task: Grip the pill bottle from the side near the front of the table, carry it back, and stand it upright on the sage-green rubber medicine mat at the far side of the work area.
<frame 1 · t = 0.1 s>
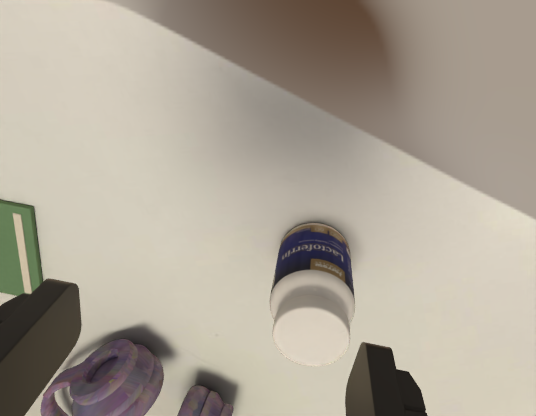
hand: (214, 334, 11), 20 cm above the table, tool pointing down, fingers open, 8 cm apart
headphones: (144, 399, 44), on the table
pill bottle: (313, 249, 33), on the table
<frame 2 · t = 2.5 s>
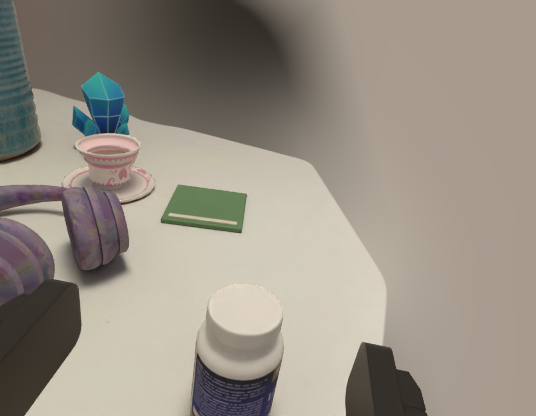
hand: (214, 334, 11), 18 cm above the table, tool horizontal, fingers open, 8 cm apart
headphones: (15, 259, 41), on the table
medicine mat: (207, 208, 55), on the table
pill bottle: (229, 411, 29), on the table
teacup: (110, 186, 57), on the table
gemstone: (106, 150, 67), on the table
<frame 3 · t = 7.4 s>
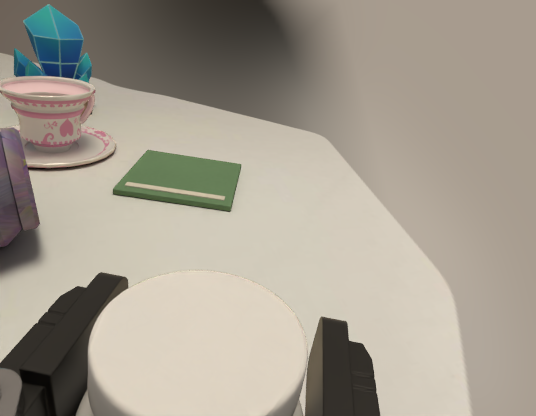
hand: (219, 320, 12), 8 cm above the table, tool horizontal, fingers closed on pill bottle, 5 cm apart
medicine mat: (184, 179, 39), on the table
teacup: (52, 148, 41), on the table
gemstone: (60, 112, 51), on the table
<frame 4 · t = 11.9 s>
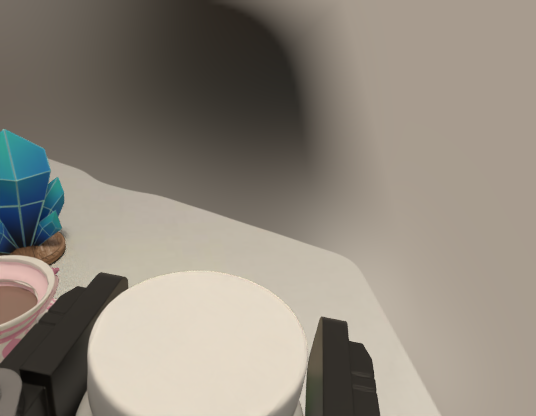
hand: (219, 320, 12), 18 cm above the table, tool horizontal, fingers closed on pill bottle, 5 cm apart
gemstone: (23, 254, 40), on the table
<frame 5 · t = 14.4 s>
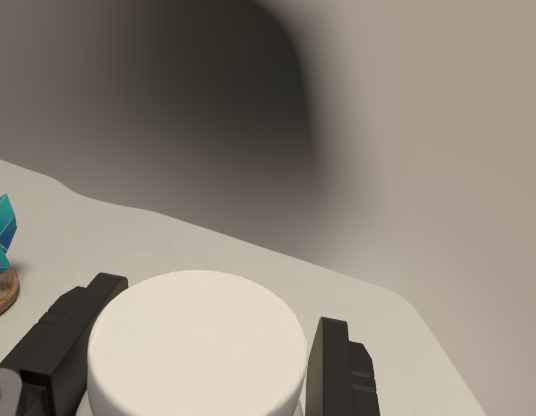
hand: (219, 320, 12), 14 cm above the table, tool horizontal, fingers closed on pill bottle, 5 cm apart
when the fingers open (8 cm above the table, at t = 16.4 s): pill bottle stays where it is, resting on medicine mat.
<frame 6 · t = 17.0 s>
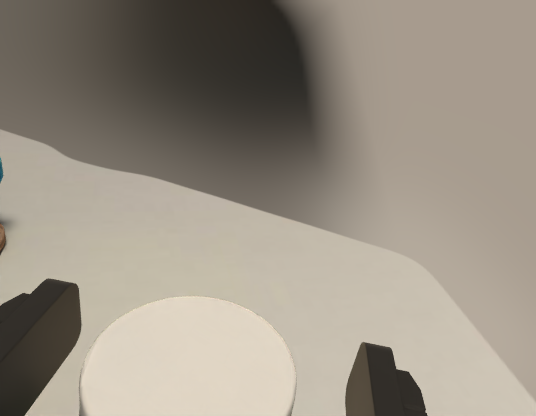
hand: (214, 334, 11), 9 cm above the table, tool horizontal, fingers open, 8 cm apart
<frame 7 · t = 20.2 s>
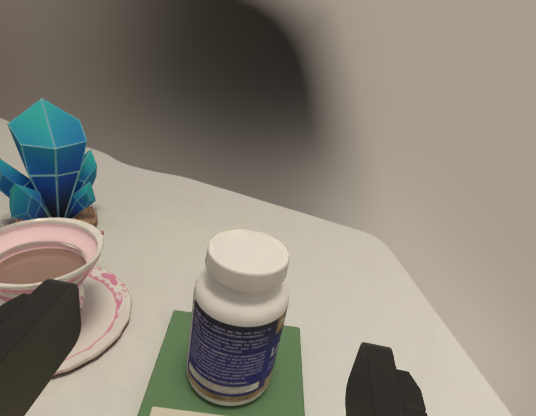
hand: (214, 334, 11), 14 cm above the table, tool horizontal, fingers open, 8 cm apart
medicine mat: (229, 375, 28), on the table
pill bottle: (228, 373, 27), resting on medicine mat
teacup: (45, 318, 30), on the table
gemstone: (56, 227, 40), on the table
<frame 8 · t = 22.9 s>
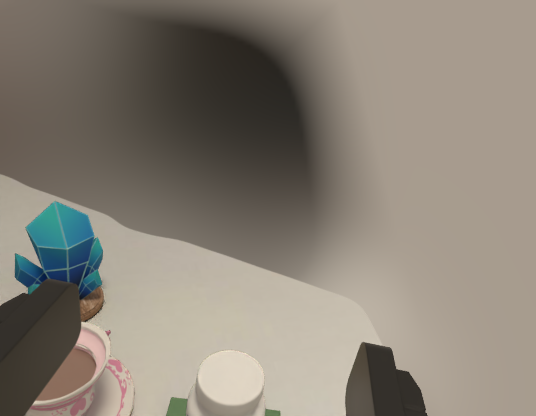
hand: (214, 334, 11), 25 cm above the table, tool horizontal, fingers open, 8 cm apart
teacup: (61, 409, 35), on the table
gemstone: (67, 307, 45), on the table
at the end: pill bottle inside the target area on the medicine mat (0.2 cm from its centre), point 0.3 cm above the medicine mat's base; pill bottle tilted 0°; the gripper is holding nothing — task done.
